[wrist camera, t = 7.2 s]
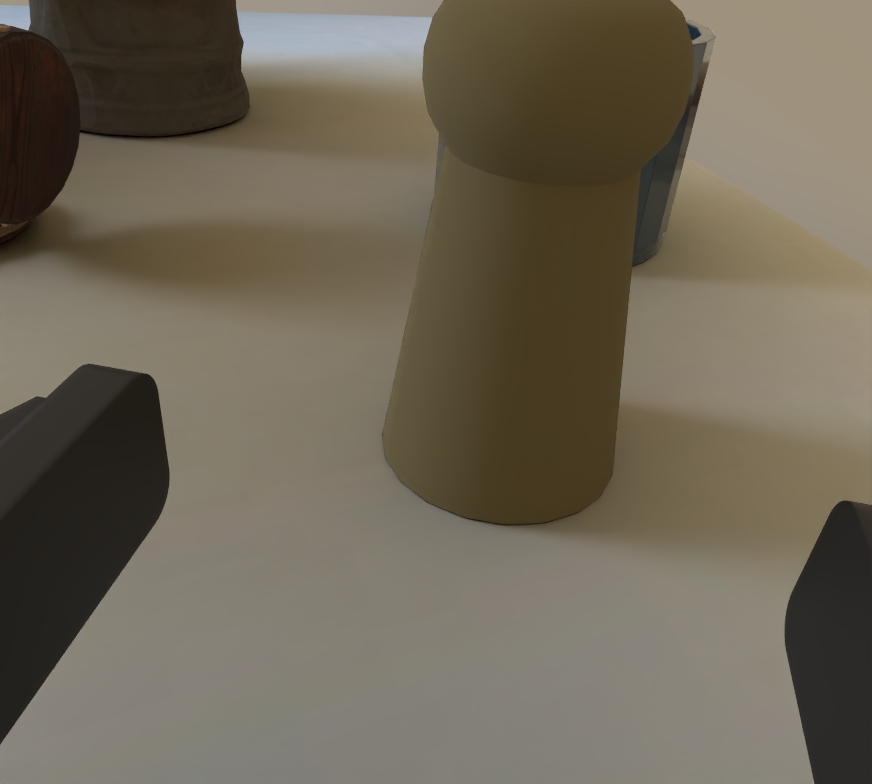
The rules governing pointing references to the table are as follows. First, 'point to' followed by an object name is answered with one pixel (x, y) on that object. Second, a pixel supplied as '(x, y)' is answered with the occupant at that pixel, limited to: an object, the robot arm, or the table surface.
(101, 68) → the beer stein
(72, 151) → the compass
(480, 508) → the cork
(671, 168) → the tumbler
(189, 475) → the table surface
